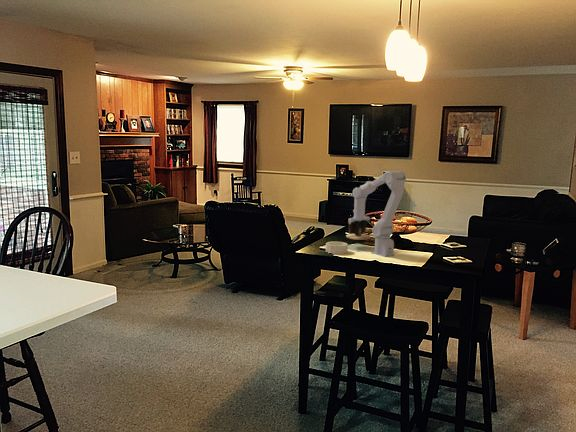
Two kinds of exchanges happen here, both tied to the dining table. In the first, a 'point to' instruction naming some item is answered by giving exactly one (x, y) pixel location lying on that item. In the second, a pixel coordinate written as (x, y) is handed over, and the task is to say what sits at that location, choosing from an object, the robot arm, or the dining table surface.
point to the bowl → (336, 247)
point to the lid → (358, 236)
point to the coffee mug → (351, 231)
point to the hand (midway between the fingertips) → (358, 234)
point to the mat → (359, 247)
